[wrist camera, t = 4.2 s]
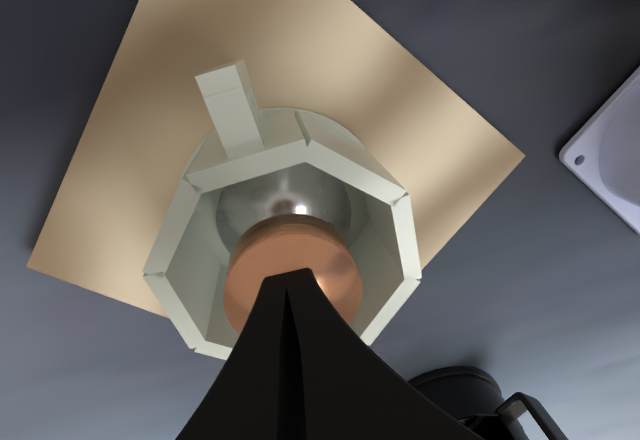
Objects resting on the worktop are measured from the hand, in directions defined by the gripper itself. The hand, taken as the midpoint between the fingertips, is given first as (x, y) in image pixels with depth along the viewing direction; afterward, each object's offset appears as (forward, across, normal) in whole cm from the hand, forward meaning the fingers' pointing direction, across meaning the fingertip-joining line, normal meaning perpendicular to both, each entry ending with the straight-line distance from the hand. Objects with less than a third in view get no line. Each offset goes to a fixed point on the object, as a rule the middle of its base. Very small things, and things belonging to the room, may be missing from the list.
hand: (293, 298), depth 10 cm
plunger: (+5, 0, 0) cm, 6 cm away
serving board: (+7, 0, 0) cm, 7 cm away
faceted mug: (+6, 0, 0) cm, 6 cm away
